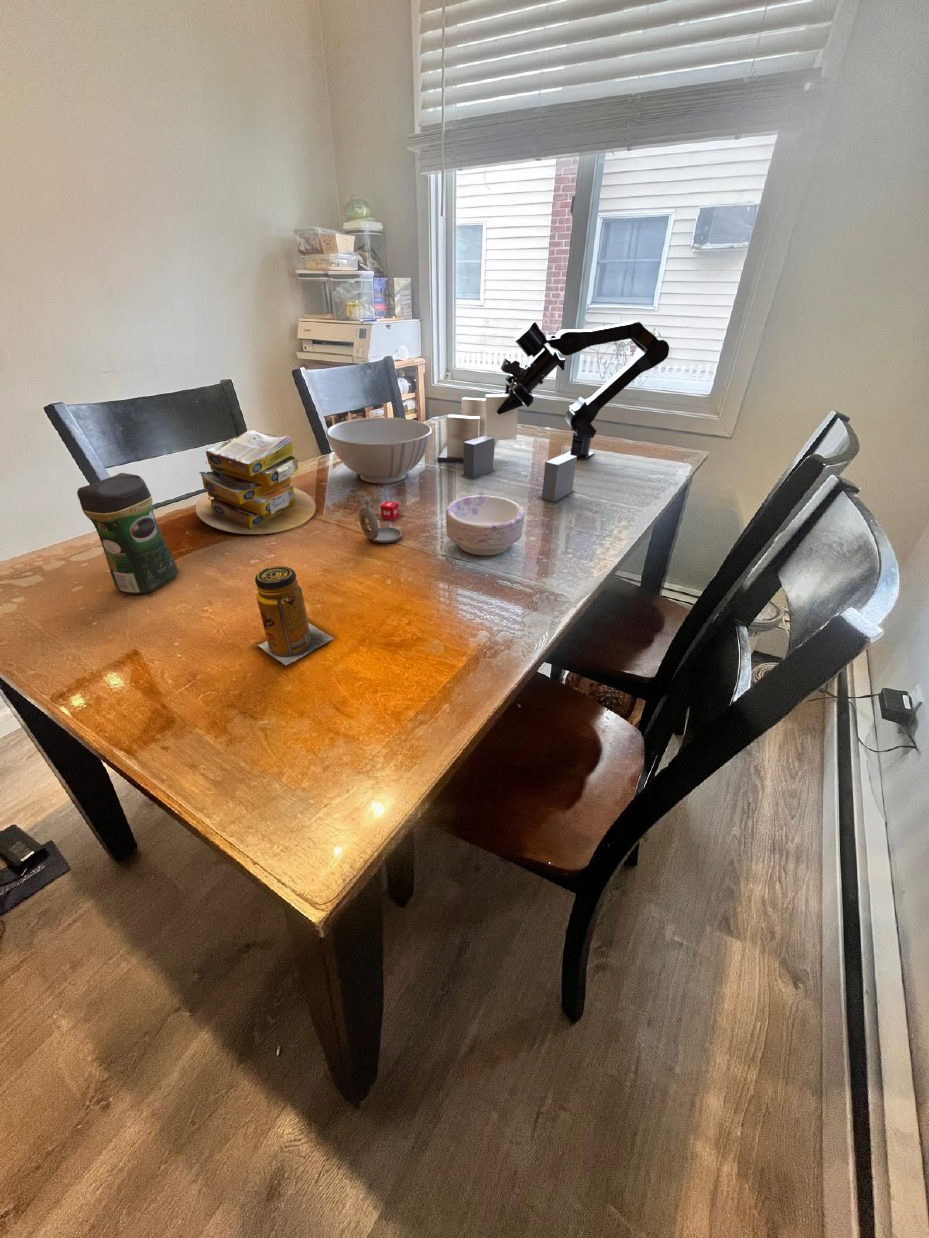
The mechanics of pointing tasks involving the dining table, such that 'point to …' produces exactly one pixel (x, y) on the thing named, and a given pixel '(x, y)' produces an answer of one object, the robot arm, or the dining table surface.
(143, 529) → the coffee jar
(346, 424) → the decorative bowl
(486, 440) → the gray bookends
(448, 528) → the cream and purple bowl
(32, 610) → the dining table surface
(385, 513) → the dice
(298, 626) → the condiment
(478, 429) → the book rack
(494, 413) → the white book
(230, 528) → the stacked yellow boxes
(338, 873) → the dining table surface
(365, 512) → the pocket watch
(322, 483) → the dining table surface
